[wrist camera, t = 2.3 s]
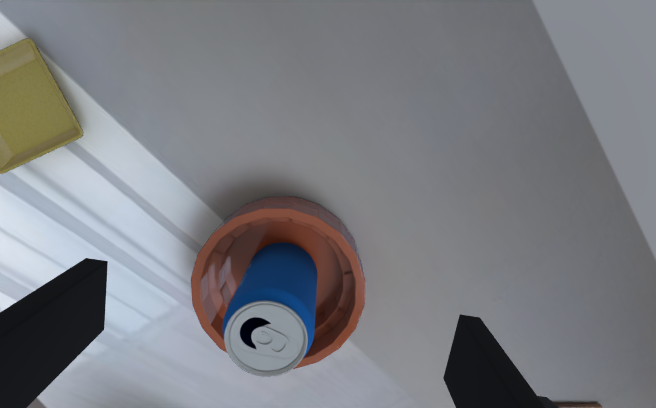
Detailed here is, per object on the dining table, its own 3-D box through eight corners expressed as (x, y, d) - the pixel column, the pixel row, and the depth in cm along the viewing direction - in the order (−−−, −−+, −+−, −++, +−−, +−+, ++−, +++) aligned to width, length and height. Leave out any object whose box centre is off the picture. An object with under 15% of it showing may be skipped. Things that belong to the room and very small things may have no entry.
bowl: (362, 196, 39) (367, 209, 34) (358, 339, 42) (362, 370, 37) (203, 195, 39) (185, 208, 34) (211, 338, 42) (196, 369, 37)
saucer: (-41, 81, 36) (-62, 79, 34) (46, 39, 36) (29, 35, 34) (14, 172, 38) (-3, 176, 36) (98, 134, 37) (84, 136, 35)
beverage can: (268, 227, 39) (243, 279, 27) (329, 259, 40) (331, 322, 28) (237, 284, 40) (201, 357, 29) (297, 314, 41) (286, 397, 29)
